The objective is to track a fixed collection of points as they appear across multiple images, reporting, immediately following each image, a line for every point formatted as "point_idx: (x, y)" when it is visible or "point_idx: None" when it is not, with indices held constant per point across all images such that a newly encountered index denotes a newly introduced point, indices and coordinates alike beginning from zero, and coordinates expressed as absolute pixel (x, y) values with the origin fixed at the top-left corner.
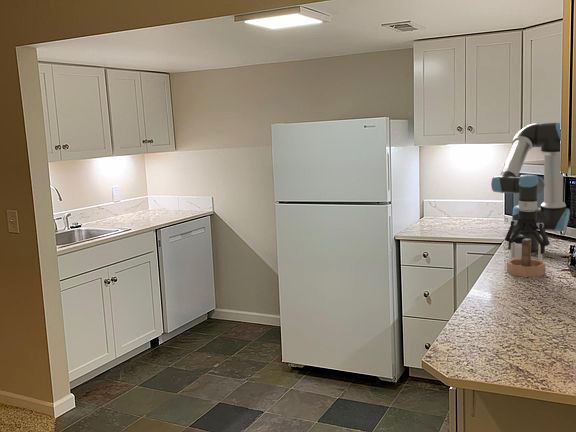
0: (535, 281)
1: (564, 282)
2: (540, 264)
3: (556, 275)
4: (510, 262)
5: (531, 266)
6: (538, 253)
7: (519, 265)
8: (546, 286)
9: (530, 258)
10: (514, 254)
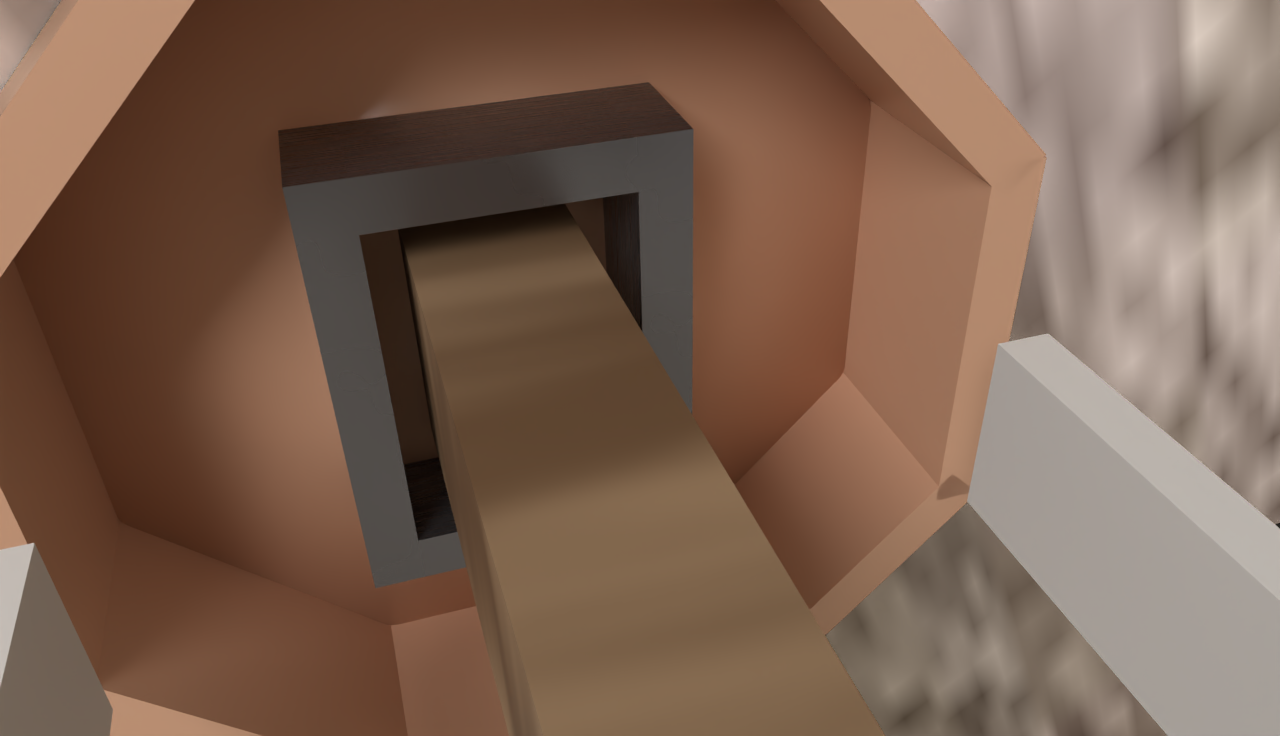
0: (882, 616)
1: (1268, 362)
2: (836, 38)
3: (1127, 22)
4: (65, 577)
5: (817, 617)
6: (1131, 685)
7: (357, 459)
8: (1062, 674)
9: (665, 387)
10: (28, 631)
